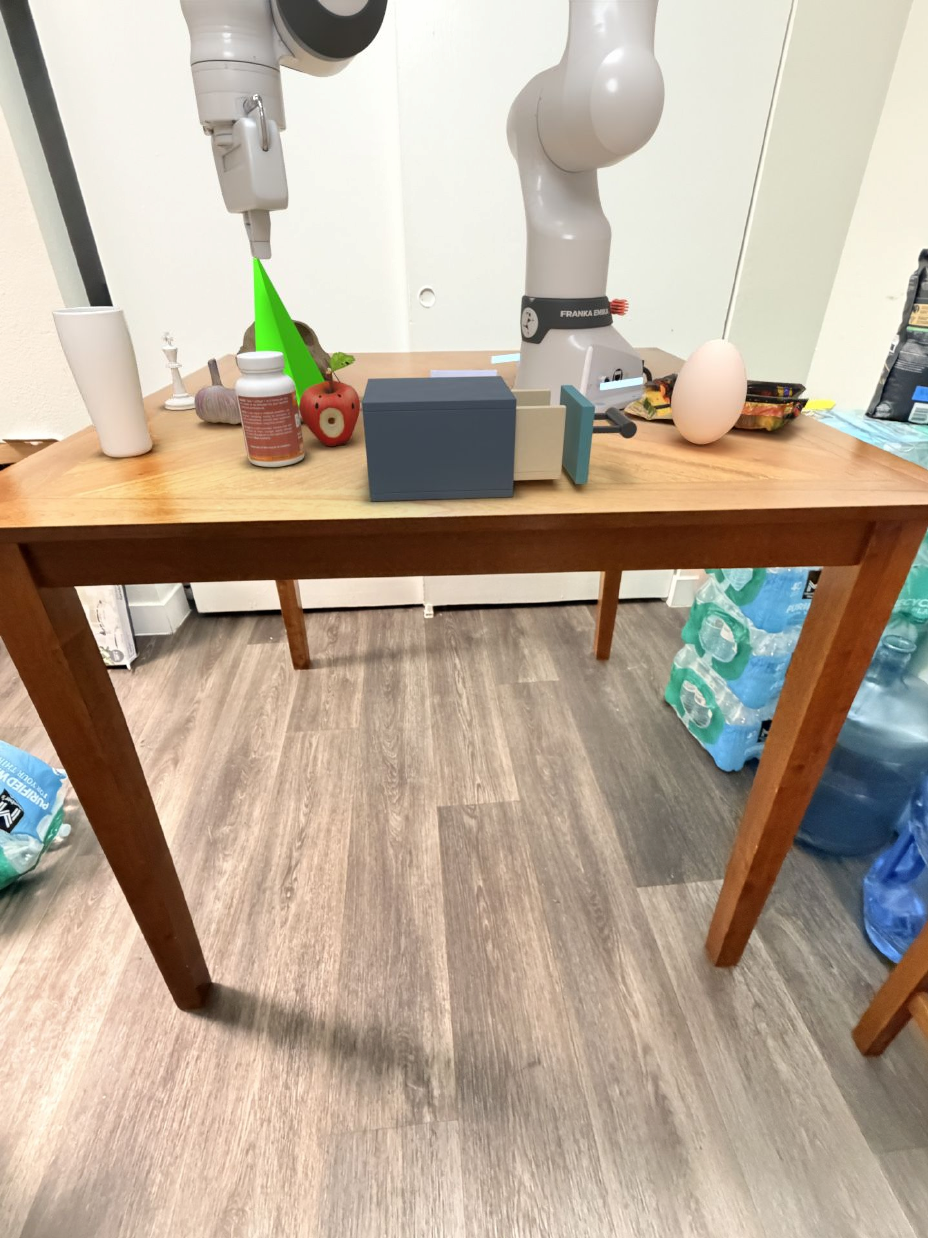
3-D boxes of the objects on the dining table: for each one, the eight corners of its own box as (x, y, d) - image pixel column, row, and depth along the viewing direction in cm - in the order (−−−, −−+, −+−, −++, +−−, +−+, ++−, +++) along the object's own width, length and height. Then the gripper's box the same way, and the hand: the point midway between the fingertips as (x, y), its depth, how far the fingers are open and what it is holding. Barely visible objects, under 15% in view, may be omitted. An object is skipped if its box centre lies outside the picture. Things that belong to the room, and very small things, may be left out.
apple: (347, 454, 72) (337, 361, 66) (294, 449, 73) (280, 358, 68) (374, 436, 78) (367, 350, 73) (325, 432, 80) (314, 348, 74)
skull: (317, 383, 91) (287, 283, 88) (221, 415, 99) (189, 325, 95) (370, 381, 106) (346, 296, 103) (284, 410, 114) (259, 331, 110)
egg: (653, 445, 74) (670, 340, 68) (679, 430, 79) (696, 332, 73) (722, 457, 70) (746, 346, 64) (743, 441, 75) (767, 337, 69)
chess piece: (179, 411, 90) (161, 335, 84) (158, 407, 92) (139, 333, 86) (208, 404, 93) (192, 331, 88) (186, 400, 95) (170, 329, 90)
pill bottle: (314, 462, 69) (299, 355, 63) (259, 472, 66) (239, 361, 61) (294, 448, 74) (278, 347, 68) (241, 457, 71) (221, 352, 65)
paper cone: (208, 265, 86) (257, 436, 84) (209, 236, 81) (260, 418, 79) (290, 265, 90) (337, 427, 89) (295, 238, 85) (345, 410, 84)
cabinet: (499, 462, 69) (501, 375, 64) (512, 497, 60) (516, 398, 55) (375, 466, 68) (368, 378, 63) (370, 501, 59) (361, 402, 54)
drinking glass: (83, 457, 71) (34, 311, 63) (130, 441, 77) (91, 305, 69) (127, 463, 69) (83, 313, 61) (173, 447, 74) (138, 307, 67)
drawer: (609, 453, 69) (617, 383, 65) (636, 482, 61) (647, 404, 57) (452, 457, 68) (451, 387, 64) (458, 487, 60) (457, 409, 56)
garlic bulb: (189, 421, 84) (174, 357, 80) (240, 412, 88) (229, 351, 84) (211, 432, 79) (196, 365, 75) (265, 422, 83) (254, 358, 79)
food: (660, 370, 95) (657, 395, 97) (614, 393, 82) (611, 421, 84) (820, 384, 85) (812, 411, 87) (796, 413, 72) (788, 444, 74)
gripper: (293, 93, 59) (310, 261, 66) (255, 122, 75) (272, 256, 82) (224, 86, 57) (249, 261, 64) (199, 118, 72) (221, 256, 79)
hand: (261, 258), depth 73 cm, fingers closed
